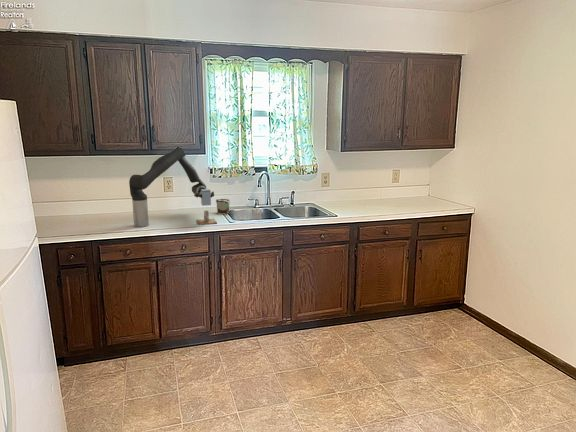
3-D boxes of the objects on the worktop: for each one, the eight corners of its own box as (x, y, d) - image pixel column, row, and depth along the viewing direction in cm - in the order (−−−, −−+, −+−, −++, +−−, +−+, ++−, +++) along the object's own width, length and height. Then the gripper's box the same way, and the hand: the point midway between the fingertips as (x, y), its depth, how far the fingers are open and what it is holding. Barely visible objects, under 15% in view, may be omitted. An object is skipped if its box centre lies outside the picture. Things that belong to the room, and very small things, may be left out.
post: (199, 224, 289) (198, 213, 287) (196, 220, 300) (196, 209, 298) (217, 223, 293) (216, 212, 291) (213, 219, 304) (213, 208, 302)
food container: (234, 213, 325) (233, 199, 323) (228, 214, 320) (228, 201, 318) (221, 211, 332) (221, 198, 330) (216, 212, 327) (215, 199, 325)
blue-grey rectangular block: (202, 205, 290) (202, 190, 288) (201, 203, 295) (200, 189, 293) (210, 205, 292) (210, 190, 290) (209, 203, 297) (209, 189, 295)
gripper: (191, 187, 302) (195, 191, 287) (212, 186, 307) (217, 190, 291) (192, 197, 304) (195, 202, 288) (212, 196, 309) (217, 201, 293)
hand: (206, 196), depth 290 cm, fingers closed on blue-grey rectangular block, 5 cm apart
